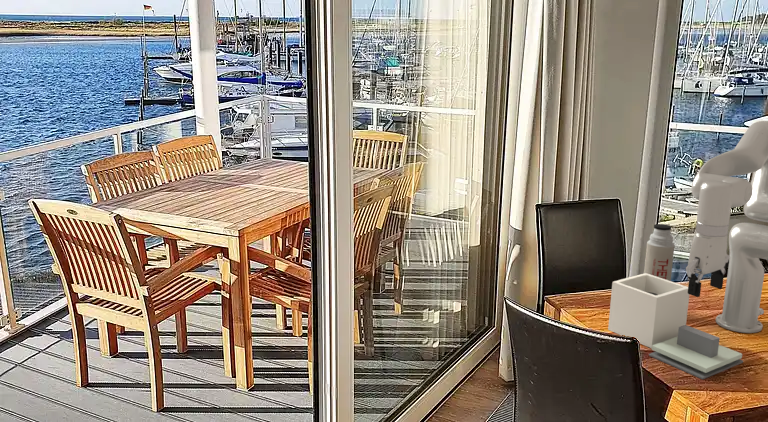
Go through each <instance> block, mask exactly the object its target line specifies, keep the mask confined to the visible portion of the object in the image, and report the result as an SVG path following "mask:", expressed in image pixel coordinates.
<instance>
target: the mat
mask: <svg viewBox="0 0 768 422" xmlns="http://www.w3.org/2000/svg"><path fill="white" fill-rule="evenodd" d="M648 356H649V357H650V358H653V359H656V360H658V361H660V362H662V363H664V364H667V365H668V366H671V367H673V368H676V369H678V370H680V371H682V372H685V373H687V374H689V375H691V376H693V377H697V378H698V379H701V380H705V379H707V378H710V377H712V376H715V375H716V374H719V373H721V372H724V371H726V370H729V369H731V368H734V367H736V366H737V365H740V364H742V363H744V360H742V359H738V360H736V361H733V362H731V363H729V364H726V365H724V366H721V367H719V368H717V369H714V370H712V371H709V372H707V373H705V372H703V371H700V370H698V369H696V368H693V367H691V366H689V365H686V364H684V363H682V362H679V361H677V360H675V359H672V358H670V357H668V356H666V355H663V354H661V353H659V352H656V351H653V352H651V353H648Z"/></svg>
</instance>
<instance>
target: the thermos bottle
mask: <svg viewBox="0 0 768 422" xmlns="http://www.w3.org/2000/svg"><path fill="white" fill-rule="evenodd" d="M653 228H654V229H653V232H652V233H650V235H649V240H647V242H646V249H645V250H646V251H645V260H644V270H643V274H644V273H647V274H650V275H653V276H656V277H659V278H662V279H665V280H668V281H671V282H672V271H673V263H674V253H675V252H674V251H675V246H676V244H675V243H674V237H673V236H672V235H671V229H672V226H671V225H670V224H663V223H656V224H654V225H653Z"/></svg>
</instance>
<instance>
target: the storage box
mask: <svg viewBox="0 0 768 422" xmlns="http://www.w3.org/2000/svg"><path fill="white" fill-rule="evenodd" d="M647 292H652V293H656V294H658V295H653V294H650V293H647ZM610 293H611V294H610V295H611V296H610V305H609V316H608V317H609V318H608V325H607V326H608V327H607V330H608V331H610V332H613V333H614V334H617V335H620V336H622V335H625V336H631V337H635V338H637V339H638V340H639V341H640V343H639V344H641V345H643V346H644V347H647V348H650V349H652V345H655V344H658V343H661V342H663V341H666V340H669V339H672V338H675V337H677V336H678V330H679V327H681V326H683V325H687V320H688V319H687V318H688V311H689V310H688V309H689V302H690V296H691V295H690V294H688V285H687V286H686V285H684V284H679V283H678V282H674V281H672V280H671V281H668V280H665V279H662V278H659V277H656V276H653V275H650V274H647V273H644V272H643V273H641V274H638V275H633V276H629V277H625V278H621V279H618V280H614V281H612V283H611V292H610Z"/></svg>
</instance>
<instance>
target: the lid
mask: <svg viewBox="0 0 768 422" xmlns="http://www.w3.org/2000/svg"><path fill="white" fill-rule="evenodd" d="M651 351H653V352H659V353H661V354H663V355H666V356H668V357H670V358H672V359H675V360H677V361H679V362H682V363H684V364H686V365H689V366H691V367H693V368H696V369H698V370H700V371H703V372H705V373H707V372H709V371H712V370H714V369H717V368H719V367H721V366H724V365H726V364H729V363H731V362H733V361H736V360H738V359H740V360H742V358H743V353H741V352H740V351H737V350H733V349H731V348H729V347H726V346H724V345H720V337H719V336H716V335H714V334H711V333H708V332H706V331H703V330H700V329H698V328H695V327H694V326H693V327H692V326H689V325H688V324H686V325H683V326H681V327H679V330H678V336H677V337H675V338H672V339H669V340H666V341H663V342H661V343H658V344H655V345H652V348H651Z"/></svg>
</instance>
